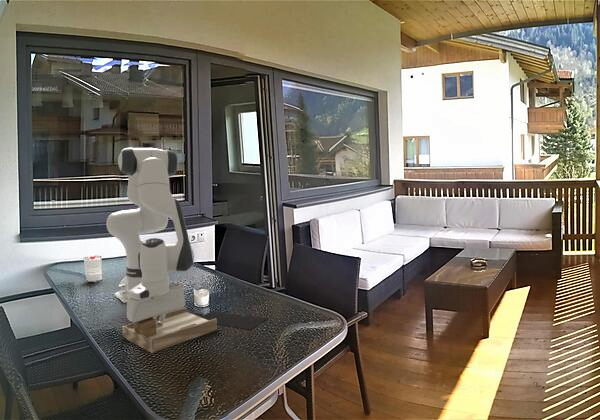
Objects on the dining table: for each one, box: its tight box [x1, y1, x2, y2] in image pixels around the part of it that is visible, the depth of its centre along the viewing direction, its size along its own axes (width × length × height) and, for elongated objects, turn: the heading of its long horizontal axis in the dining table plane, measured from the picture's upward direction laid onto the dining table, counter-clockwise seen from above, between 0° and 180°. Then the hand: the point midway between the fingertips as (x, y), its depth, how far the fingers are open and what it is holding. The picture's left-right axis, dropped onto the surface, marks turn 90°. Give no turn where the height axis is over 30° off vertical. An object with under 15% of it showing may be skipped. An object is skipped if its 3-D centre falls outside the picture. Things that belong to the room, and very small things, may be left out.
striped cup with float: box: [83, 255, 103, 281], centre depth 235 cm, size 10×8×12 cm
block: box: [133, 318, 157, 337], centre depth 156 cm, size 5×5×5 cm
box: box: [121, 306, 218, 354], centre depth 163 cm, size 20×25×4 cm
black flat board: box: [192, 310, 269, 331], centre depth 177 cm, size 12×1×30 cm
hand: (158, 327), depth 160 cm, fingers closed
